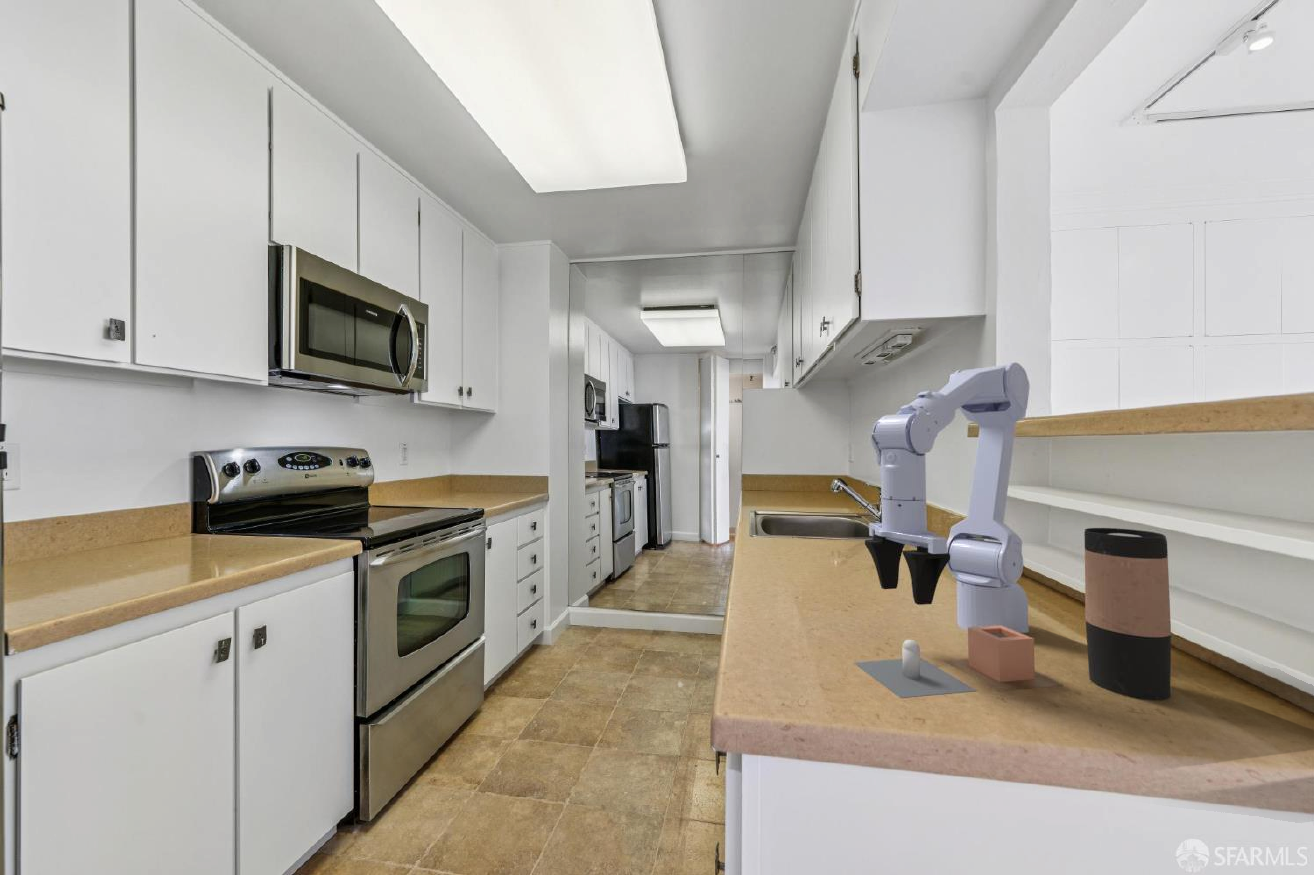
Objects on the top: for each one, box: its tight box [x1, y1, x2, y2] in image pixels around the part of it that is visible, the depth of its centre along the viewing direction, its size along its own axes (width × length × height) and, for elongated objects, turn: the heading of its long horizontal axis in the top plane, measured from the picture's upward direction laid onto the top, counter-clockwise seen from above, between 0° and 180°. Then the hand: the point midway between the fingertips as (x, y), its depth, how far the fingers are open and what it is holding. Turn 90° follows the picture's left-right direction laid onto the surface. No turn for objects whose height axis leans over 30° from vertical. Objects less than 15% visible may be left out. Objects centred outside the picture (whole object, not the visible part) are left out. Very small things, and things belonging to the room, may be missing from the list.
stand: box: [944, 634, 1064, 692], centre depth 66 cm, size 9×9×6 cm
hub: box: [853, 639, 978, 699], centre depth 65 cm, size 10×10×6 cm
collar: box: [967, 625, 1036, 682], centre depth 66 cm, size 5×5×5 cm
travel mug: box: [1084, 527, 1172, 701], centre depth 62 cm, size 8×8×20 cm
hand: (905, 595), depth 72 cm, fingers open, 7 cm apart
